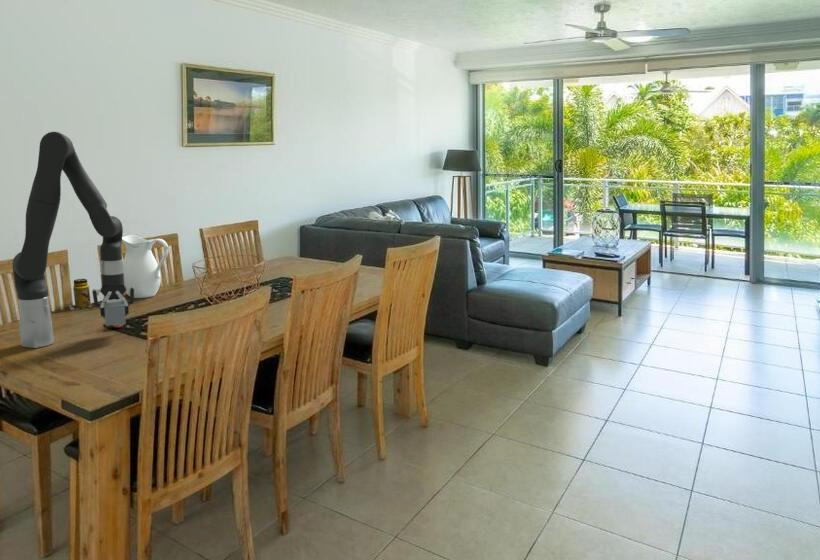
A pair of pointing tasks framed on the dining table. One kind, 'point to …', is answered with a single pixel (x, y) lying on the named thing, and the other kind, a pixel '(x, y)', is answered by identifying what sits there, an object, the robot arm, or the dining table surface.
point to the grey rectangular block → (114, 312)
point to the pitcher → (142, 266)
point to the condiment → (81, 294)
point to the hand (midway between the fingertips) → (115, 316)
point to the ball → (118, 325)
